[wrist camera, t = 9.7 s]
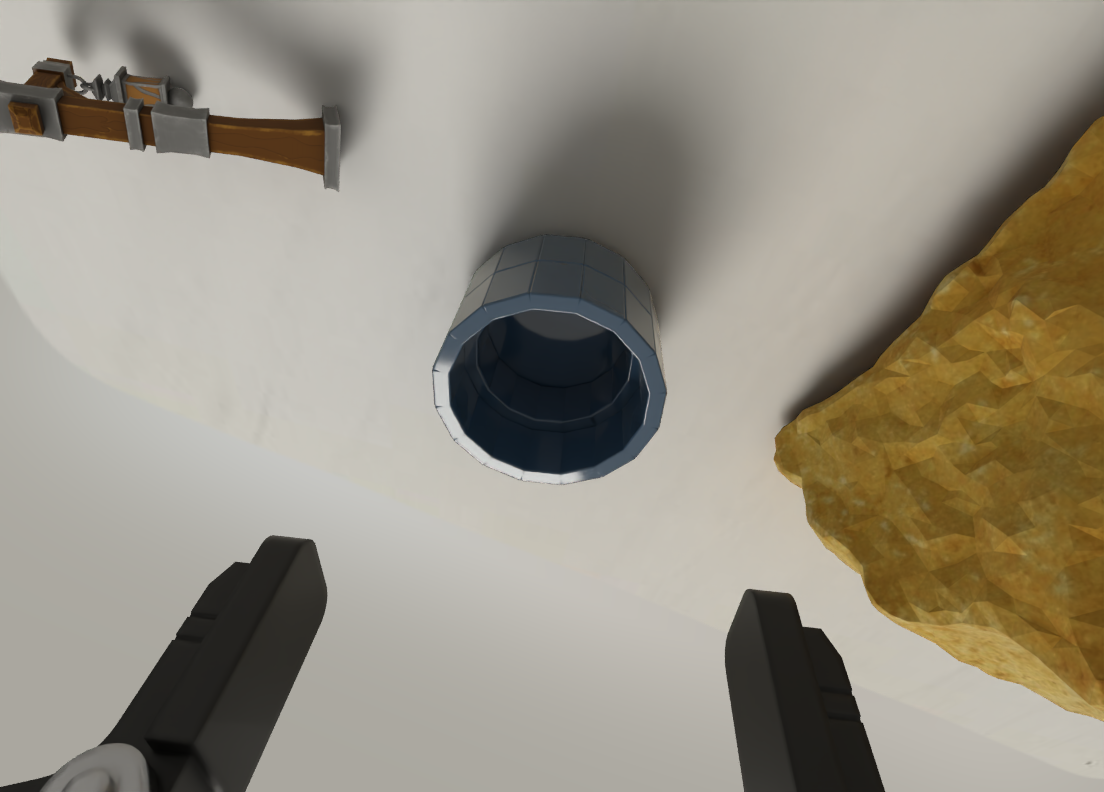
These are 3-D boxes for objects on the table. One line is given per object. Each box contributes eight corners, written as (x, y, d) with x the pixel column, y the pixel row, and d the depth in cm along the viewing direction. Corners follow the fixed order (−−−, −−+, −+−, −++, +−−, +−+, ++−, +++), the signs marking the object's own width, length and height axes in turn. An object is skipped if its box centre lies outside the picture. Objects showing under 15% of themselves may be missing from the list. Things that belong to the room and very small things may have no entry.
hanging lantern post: (-1, 23, 15) (-75, 66, 12) (331, 81, 19) (341, 127, 15) (19, 98, 16) (-44, 155, 13) (330, 141, 20) (339, 195, 16)
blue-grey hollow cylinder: (467, 389, 22) (438, 473, 19) (462, 220, 18) (425, 282, 15) (640, 406, 22) (645, 494, 18) (671, 238, 18) (685, 306, 15)
